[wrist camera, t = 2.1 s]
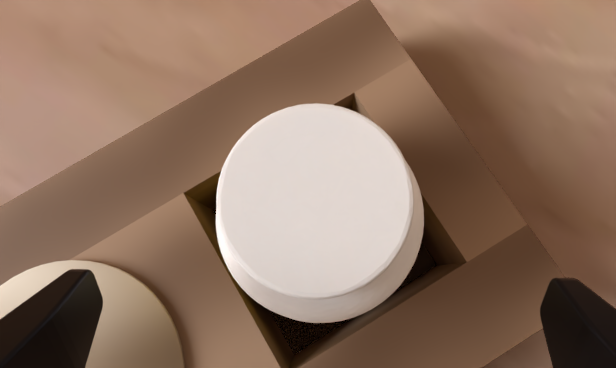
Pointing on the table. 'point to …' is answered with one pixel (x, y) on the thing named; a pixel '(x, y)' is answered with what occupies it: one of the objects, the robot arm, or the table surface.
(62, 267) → the pocket block
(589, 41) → the table surface
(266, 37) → the table surface
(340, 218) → the supplement bottle
